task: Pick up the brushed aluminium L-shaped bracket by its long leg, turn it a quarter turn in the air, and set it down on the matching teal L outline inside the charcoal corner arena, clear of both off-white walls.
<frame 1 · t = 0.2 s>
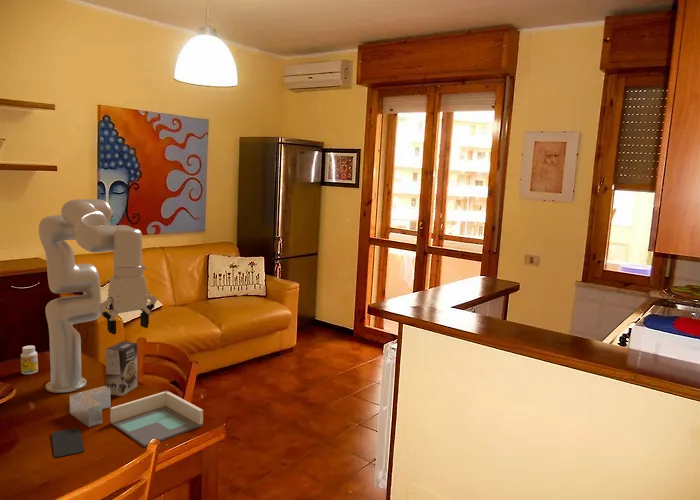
hand: (128, 330, 156), 30 cm above the table, tool pointing down, fingers open, 9 cm apart
supplement bottle: (29, 372, 199), on the table
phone: (67, 444, 151), on the table
coffee box: (122, 390, 187), on the table
aluminium bracket: (79, 413, 169), on the table
corner arena: (156, 424, 164), on the table
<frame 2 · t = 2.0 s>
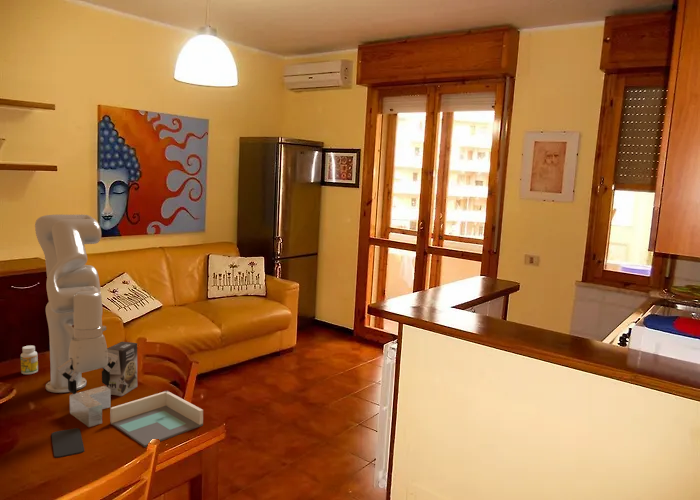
hand: (89, 388, 162), 11 cm above the table, tool pointing down, fingers open, 9 cm apart
nothing on the table moved.
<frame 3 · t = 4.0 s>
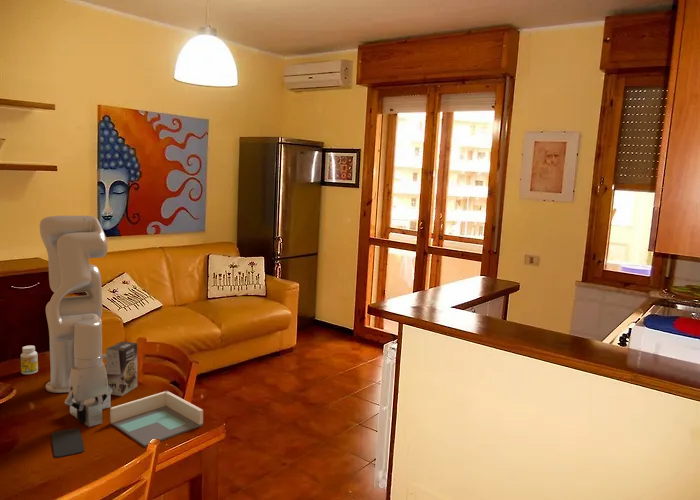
hand: (89, 418, 164), 1 cm above the table, tool pointing down, fingers closed on aluminium bracket, 4 cm apart
aluminium bracket: (79, 413, 169), on the table, touching gripper
everything else where it was.
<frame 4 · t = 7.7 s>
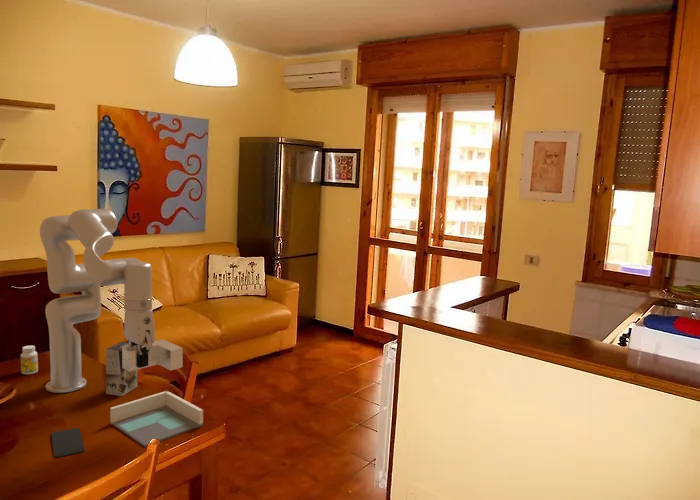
hand: (138, 363, 160), 19 cm above the table, tool pointing down, fingers closed on aluminium bracket, 4 cm apart
aluminium bracket: (160, 361, 166), point 19 cm above the table, touching gripper
everything else where it was.
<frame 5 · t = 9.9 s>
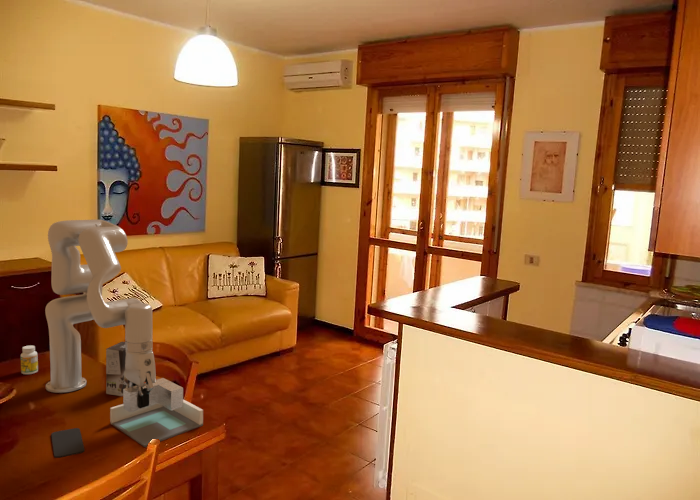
hand: (139, 403, 162), 7 cm above the table, tool pointing down, fingers closed on aluminium bracket, 4 cm apart
aluminium bracket: (160, 399, 167), point 6 cm above the table, touching gripper
everything else where it was.
when the fingers open (3 cm above the table, at t = 11.5 s): aluminium bracket drops 1 cm, resting on corner arena.
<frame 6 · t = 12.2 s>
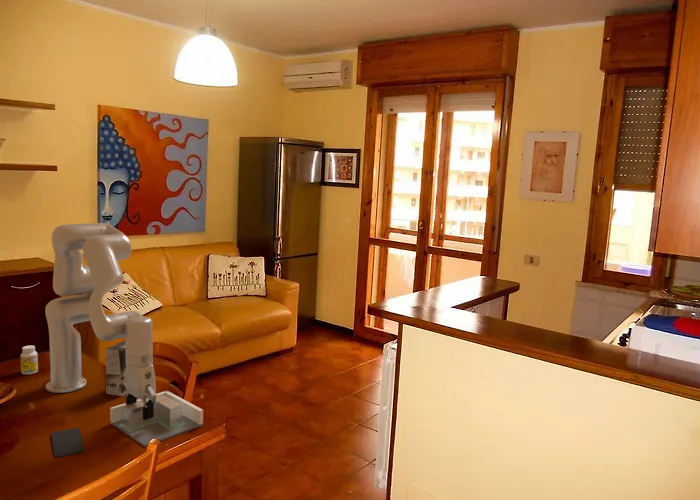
hand: (139, 413, 162), 4 cm above the table, tool pointing down, fingers open, 9 cm apart
aluminium bracket: (159, 416, 168), point 1 cm above the table, touching corner arena
everything else where it was.
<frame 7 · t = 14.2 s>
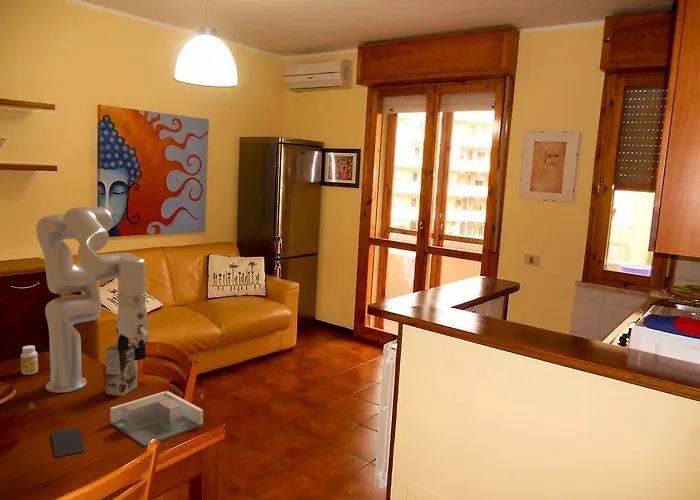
hand: (131, 354, 161), 21 cm above the table, tool pointing down, fingers open, 9 cm apart
nothing on the table moved.
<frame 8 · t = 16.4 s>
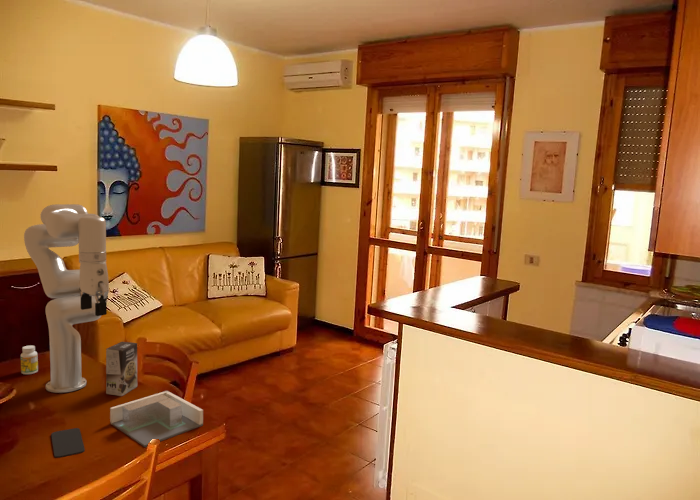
hand: (93, 312, 166), 32 cm above the table, tool pointing down, fingers open, 9 cm apart
nothing on the table moved.
at the end: aluminium bracket 0.2 cm from the target spot on the corner arena, point 0.6 cm above the corner arena's base; aluminium bracket tilted 0°; the gripper is holding nothing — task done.
